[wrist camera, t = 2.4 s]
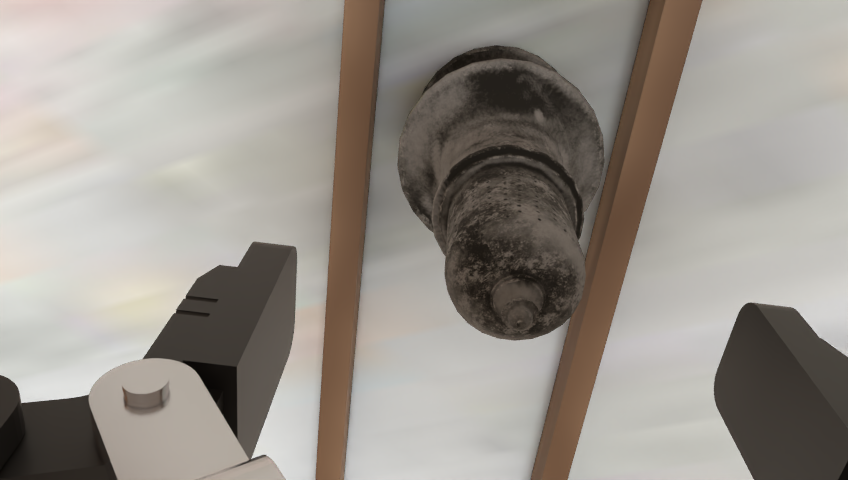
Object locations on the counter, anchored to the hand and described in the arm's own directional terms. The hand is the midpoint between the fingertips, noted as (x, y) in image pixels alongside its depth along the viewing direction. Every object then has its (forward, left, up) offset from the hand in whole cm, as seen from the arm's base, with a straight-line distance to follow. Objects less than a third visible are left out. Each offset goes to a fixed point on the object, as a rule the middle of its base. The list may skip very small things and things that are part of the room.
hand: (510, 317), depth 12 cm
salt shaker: (0, 0, -12) cm, 12 cm away
